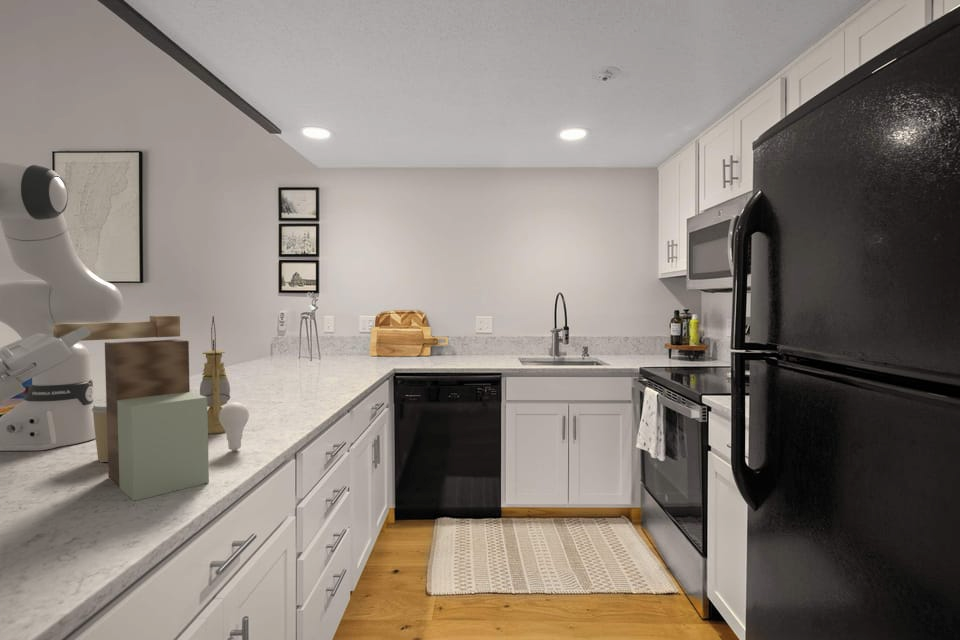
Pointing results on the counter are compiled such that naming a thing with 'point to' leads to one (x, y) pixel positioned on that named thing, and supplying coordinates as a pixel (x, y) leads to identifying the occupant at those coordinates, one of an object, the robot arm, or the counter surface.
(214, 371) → the lantern
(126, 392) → the walnut shelf
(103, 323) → the beech mallet
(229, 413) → the lightbulb
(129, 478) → the sage step
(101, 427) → the coffee cup
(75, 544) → the counter surface
